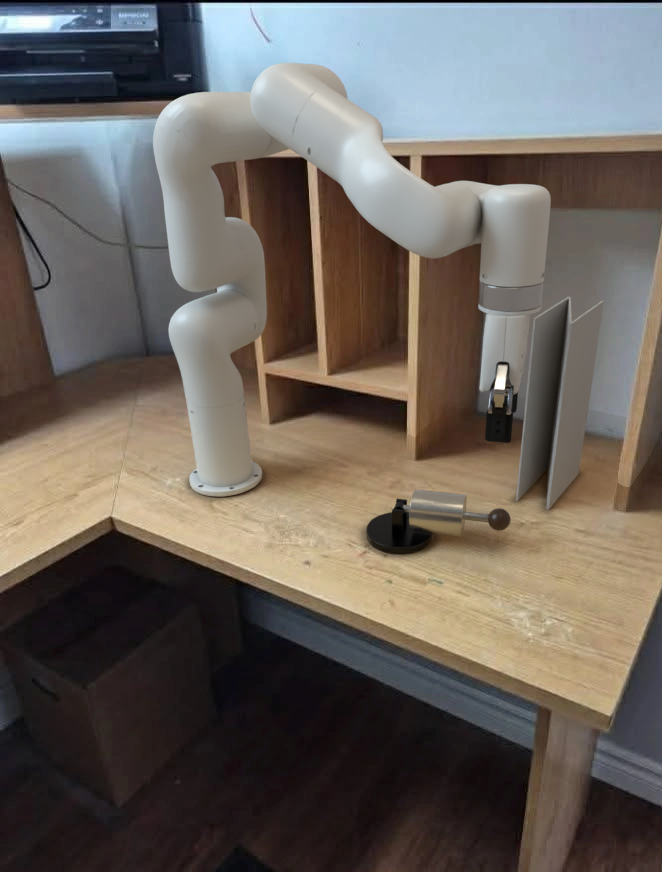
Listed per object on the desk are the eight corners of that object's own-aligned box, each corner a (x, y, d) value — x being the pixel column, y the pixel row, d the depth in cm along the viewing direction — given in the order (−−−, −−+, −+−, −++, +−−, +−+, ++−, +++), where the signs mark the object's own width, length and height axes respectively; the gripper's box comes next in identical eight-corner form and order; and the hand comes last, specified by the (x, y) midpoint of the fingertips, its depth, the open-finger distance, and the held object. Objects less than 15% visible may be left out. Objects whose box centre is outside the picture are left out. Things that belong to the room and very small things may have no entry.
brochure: (548, 465, 122) (568, 296, 108) (578, 473, 120) (604, 300, 105) (515, 500, 112) (533, 318, 98) (548, 509, 110) (571, 323, 95)
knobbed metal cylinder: (510, 527, 102) (513, 492, 99) (507, 549, 97) (510, 513, 94) (398, 514, 106) (398, 480, 103) (390, 535, 101) (389, 500, 98)
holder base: (437, 521, 107) (438, 491, 105) (426, 558, 99) (427, 526, 96) (375, 514, 110) (374, 485, 107) (359, 549, 101) (358, 518, 99)
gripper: (486, 279, 91) (480, 399, 100) (470, 314, 77) (464, 451, 85) (544, 280, 90) (533, 403, 98) (539, 316, 75) (526, 456, 83)
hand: (501, 425), depth 91 cm, fingers open, 9 cm apart
